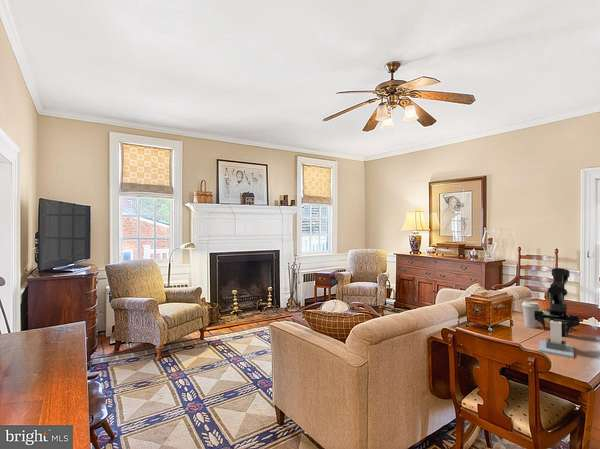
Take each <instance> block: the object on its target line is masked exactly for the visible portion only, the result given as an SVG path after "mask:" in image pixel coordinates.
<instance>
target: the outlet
mask: <svg viewBox="0 0 600 449" xmlns="http://www.w3.org/2000/svg"><path fill="white" fill-rule="evenodd" d="M538 351H541V352H540V353H544V354H549V355H556V356H561V357H567V358H571V359H574V358H575V357H574V354H575V353H574V345H573V344H567V343H566V340H562V344H557V343H551V342H550V337H546V340H543V339H540V340H539V345H538V349H537V352H538Z"/></svg>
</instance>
